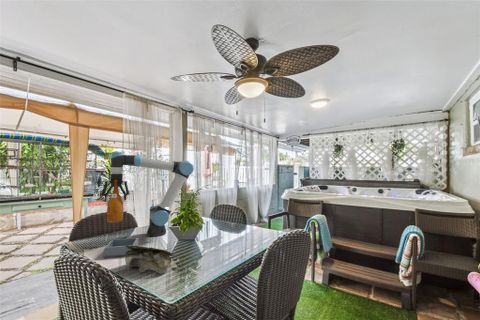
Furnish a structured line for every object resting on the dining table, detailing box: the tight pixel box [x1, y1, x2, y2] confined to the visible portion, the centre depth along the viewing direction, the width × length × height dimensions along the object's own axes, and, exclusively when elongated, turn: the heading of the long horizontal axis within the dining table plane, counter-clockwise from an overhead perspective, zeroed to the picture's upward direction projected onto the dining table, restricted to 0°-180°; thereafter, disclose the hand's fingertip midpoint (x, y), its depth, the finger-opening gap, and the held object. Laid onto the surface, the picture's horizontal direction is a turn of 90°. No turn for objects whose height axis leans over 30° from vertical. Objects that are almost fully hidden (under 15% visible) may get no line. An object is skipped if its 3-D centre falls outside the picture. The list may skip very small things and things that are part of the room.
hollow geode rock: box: [124, 245, 175, 275], centre depth 113 cm, size 28×13×15 cm
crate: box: [103, 237, 139, 259], centre depth 136 cm, size 16×16×6 cm
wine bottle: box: [106, 179, 124, 224], centre depth 151 cm, size 10×10×30 cm
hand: (115, 205), depth 151 cm, fingers closed on wine bottle, 9 cm apart
